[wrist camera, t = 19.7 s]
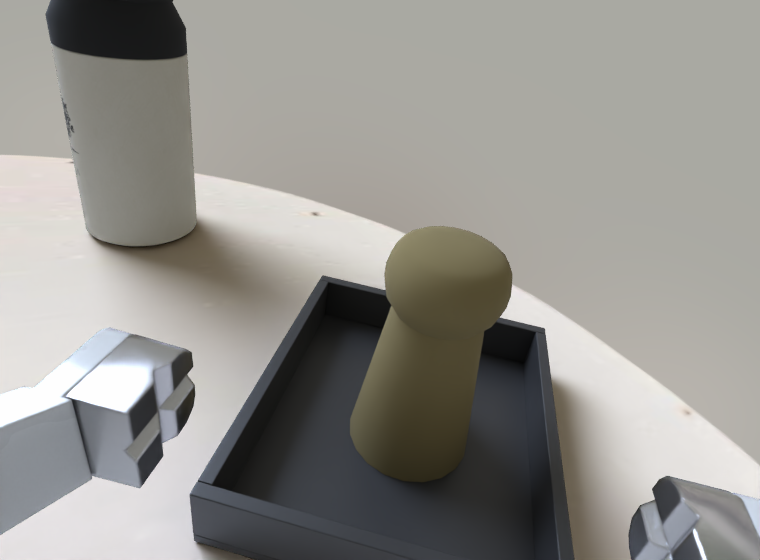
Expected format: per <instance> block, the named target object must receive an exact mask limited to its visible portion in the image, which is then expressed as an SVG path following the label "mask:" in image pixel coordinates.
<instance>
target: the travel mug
mask: <svg viewBox="0 0 760 560" xmlns="http://www.w3.org/2000/svg"><path fill="white" fill-rule="evenodd" d="M172 1H173V0H51V1H50V4H49V6H48V9H47V12H46V19H47V24H48V29H49V35H50V40H51V46H52V51H53V56H54V61H55V67H56V71H57V77H58V82H59V88H60V93H61V98H62V103H63V109H64V114H65V119H66V125H67V130H68V135H69V140H70V145H71V151H72V156H73V161H74V167H75V172H76V177H77V182H78V188H79V193H80V198H81V203H82V209H83V214H84V219H85V224H86V229H87V230H88V232H89V233H90V234H91V235H93V236H94V237H96V238H97V239H100V240H102V241H105V242H108V243H113V244H118V245H123V246H134V247H137V246H153V245H158V244H162V243H166V242H170V241H173V240H176V239H179V238H181V237H183V236H185V235H186V234H188V233H189V232H191V231H192V230H193V229H194V227H195V226H196V222H197V218H196V201H195V183H194V166H193V148H192V133H191V113H190V96H189V79H188V60H187V43H186V28H185V26H184V24H183V22H182V20H181V18H180V16H179V14H178V12H177V10H176V8H175V6H174V5H173V3H172Z"/></svg>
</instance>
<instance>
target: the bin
mask: <svg viewBox="0 0 760 560" xmlns="http://www.w3.org/2000/svg"><path fill="white" fill-rule="evenodd" d="M390 308H391V304H390V302H389V300H388V299H387V296H386V290H382V289H377V288H373V287H369V286H365V285H361V284H357V283H352V282H348V281H344V280H340V279H336V278H331V277H327V276H322V277H321V279H320V280H319V282H318V283H317V285H316V287H315V288H314V290H313V292H312V293H311V295H310V297H309V298H308V300H307V302H306V303H305V305H304V307H303V308H302V310H301V311H300V313H299V315H298V316H297V318H296V320H295V321H294V323H293V325H292V326H291V328H290V330H289V331H288V333H287V335H286V336H285V338H284V340H283V341H282V343H281V344H280V346H279V348H278V349H277V351H276V353H275V354H274V356H273V358H272V359H271V361H270V363H269V364H268V366H267V368H266V369H265V371H264V372H263V374H262V376H261V377H260V379H259V381H258V382H257V384H256V386H255V387H254V389H253V391H252V392H251V394H250V396H249V397H248V399H247V400H246V402H245V404H244V405H243V407H242V409H241V410H240V412H239V414H238V415H237V417H236V419H235V420H234V422H233V424H232V425H231V427H230V429H229V430H228V432H227V433H226V435H225V437H224V438H223V440H222V442H221V443H220V445H219V447H218V448H217V450H216V452H215V453H214V455H213V457H212V458H211V460H210V461H209V463H208V465H207V466H206V468H205V470H204V471H203V473H202V475H201V476H200V478H199V480H198V482H197V483H196V485H195V486H194V488H193V489H192V491H191V493H190V504H191V514H192V524H193V533H194V541H196V542H200V543H203V544H206V545H210V546H213V547H216V548H220V549H223V550H226V551H230V552H233V553H236V554H240V555H243V556H246V557H250V558H253V559H256V560H574V554H573V546H572V538H571V530H570V522H569V514H568V507H567V499H566V491H565V483H564V475H563V468H562V460H561V452H560V444H559V436H558V428H557V421H556V413H555V405H554V397H553V389H552V382H551V374H550V366H549V358H548V350H547V342H546V335H545V329H544V328H541V327H537V326H532V325H528V324H524V323H520V322H516V321H511V320H507V319H503V318H499V319H498V320H497V321H496V322H495V323H494V325H493V326H492V327H491V328H489V329H487V330H485V331H484V336H483V343H482V349H481V355H480V361H479V367H478V373H477V380H476V386H475V392H474V398H473V404H472V411H471V417H470V423H469V429H468V435H467V442H466V447H465V453H464V457H463V458H462V460H461V461H460V463H459V464H458V466H457V467H456V469H455V470H453V471H451V472H450V473H448V474H447V475H445V476H444V477H442V478H440V479H435V480H431V481H427V482H410V481H402V480H399V479H396V478H393V477H390V476H387V475H384V474H382V473H381V472H380V471H378V470H377V469H375V468H374V467H372V466H371V465H369V464H368V463H367V462H366V461H365V460H364V458H363V457H362V456H361V455H360V454H359V452H358V451H357V450H356V448H355V446H354V443H353V440H352V438H351V435H350V418H351V415H352V412H353V410H354V407H355V404H356V401H357V399H358V396H359V393H360V390H361V388H362V385H363V382H364V379H365V377H366V374H367V371H368V368H369V366H370V363H371V360H372V357H373V355H374V352H375V349H376V346H377V344H378V341H379V338H380V335H381V333H382V330H383V327H384V324H385V322H386V319H387V316H388V313H389V311H390Z"/></svg>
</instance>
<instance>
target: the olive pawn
mask: <svg viewBox="0 0 760 560" xmlns="http://www.w3.org/2000/svg"><path fill="white" fill-rule="evenodd" d="M385 287H386V296H387V299H388V300H389V302H390V304H391V308H390V311H389V313H388V316H387V319H386V322H385V324H384V327H383V330H382V333H381V335H380V338H379V341H378V344H377V346H376V349H375V352H374V355H373V357H372V360H371V363H370V366H369V368H368V371H367V374H366V377H365V379H364V382H363V385H362V388H361V390H360V393H359V396H358V399H357V401H356V404H355V407H354V410H353V412H352V415H351V418H350V435H351V438H352V440H353V443H354V446H355V448H356V450H357V451H358V452H359V454H360V455H361V456H362V457H363V458H364V460H365V461H366V462H367V463H368V464H369V465H371V466H372V467H374V468H375V469H377V470H378V471H380V472H381V473H382V474H384V475H387V476H390V477H393V478H396V479H399V480H402V481H410V482H427V481H431V480H435V479H440V478H442V477H444V476H445V475H447V474H448V473H450V472H451V471H453V470H455V469H456V467H457V466H458V464H459V463H460V461H461V460H462V458H463V457H464V453H465V447H466V442H467V435H468V429H469V423H470V417H471V411H472V404H473V398H474V392H475V386H476V380H477V373H478V367H479V361H480V355H481V349H482V343H483V336H484V331H485V330H487V329H489V328H491V327H492V326H493V325H494V323H495V322H496V321H497V320H498V319H499V317H500V316H501V315H502V313H503V312H504V311H505V309H506V307H507V305H508V302H509V299H510V297H511V288H512V271H511V268H510V265H509V262H508V260H507V258H506V256H505V254H504V253H503V252H501V250H500V249H499V248H497V247H496V246H495V245H494V244H493V243H492V242H490V241H488V240H487V239H485V238H483V237H482V236H479V235H477V234H475V233H472V232H470V231H466V230H462V229H458V228H454V227H445V226H434V227H433V226H432V227H425V228H421V229H416V230H413V231H411V232H409V233H408V234H406V235H404V236H403V237H402V238H401V239H400V240H399V241H398V242H397V243H396V245H395V247H394V248H393V250H392V252H391V254H390V256H389V258H388V260H387V262H386V268H385Z"/></svg>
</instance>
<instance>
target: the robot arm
mask: <svg viewBox="0 0 760 560" xmlns="http://www.w3.org/2000/svg"><path fill="white" fill-rule="evenodd" d="M192 367H193V360H192V352H190V351H188V350H187V349H184V348H180V347H177V346H173V345H170V344H167V343H163V342H160V341H156V340H153V339H149V338H146V337H143V336H139V335H136V334H135V335H134V334H131V333H127V332H124V331H120V330H117V329H113V328H110V327H109V328H106V329H103V330H100V331H99V332H97V333H96V334H95V335H94V336H93V337H92V338H90V339H89V340H88V341H87V342H86V343H85V344H84V345H82V346H81V347H80V348H79V349H78V350H77V351H75V352H74V353H73V354H72V355H71V356H70V357H69V358H67V359H66V360H65V361H64V362H63V363H62V364H60V365H59V366H58V367H57V368H56V369H55V370H54V371H52V372H51V373H50V374H49V375H48V376H47V377H46V378H44V379H43V380H42V381H41V382H40V383H39V384H37V385H36V386H35V387H34V388H29V387H25V386H24V387H21V388H19V389H16V390H13V391H10V392H7V393H4V394H2V395H0V535H1V534H3V533H4V532H6V531H8V530H9V529H11V528H12V527H14V526H16V525H17V524H19V523H21V522H22V521H24V520H26V519H27V518H29V517H30V516H32V515H34V514H35V513H37V512H39V511H40V510H42V509H44V508H45V507H47V506H48V505H50V504H52V503H53V502H55V501H57V500H58V499H60V498H62V497H63V496H65V495H67V494H68V493H70V492H71V491H73V490H75V489H76V488H78V487H80V486H81V485H83V484H85V483H86V482H88V481H89V480H91V479H92V476H95V477H99V478H102V479H106V480H110V481H114V482H118V483H122V484H125V485H129V486H133V487H137V488H141V486H142V485H143V484H144V482H145V481H146V479H147V478H148V477H149V475H150V474H151V472H152V471H153V470H154V468H155V467H156V465H157V464H158V463H159V461H160V460H161V458H162V457H163V447H162V443H164V442H166V441H168V440H170V439H172V438H174V437H176V436H178V434H179V433H180V431H181V430H182V428H183V427H184V426H185V424H186V423H187V420H188V418H189V415H190V413H191V411H192V408H193V404H194V398H195V385H194V383H193V382H192V381H191V379H190V378H189V377H188V375H187V374H188V372H189V371H190V370H191V369H192ZM652 490H653V494H654V497H655V500H654V501H651V502H648V503H645V504H643V505H640V506H639V508H638V509H637V511H636V513H635V514H634V516H633V517H632V520H631V525H630V530H629V550H630V555H631V559H632V560H760V499H756V498H753V497H749V496H745V495H741V494H737V493H731V492H729V491H726V490H722V489H718V488H714V487H710V486H706V485H702V484H698V483H694V482H690V481H686V480H682V479H678V478H674V477H670V476H666V477H664V478H661V479H659V481H658V482H657V483H656V485H655V486H654V487H653V488H652Z"/></svg>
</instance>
